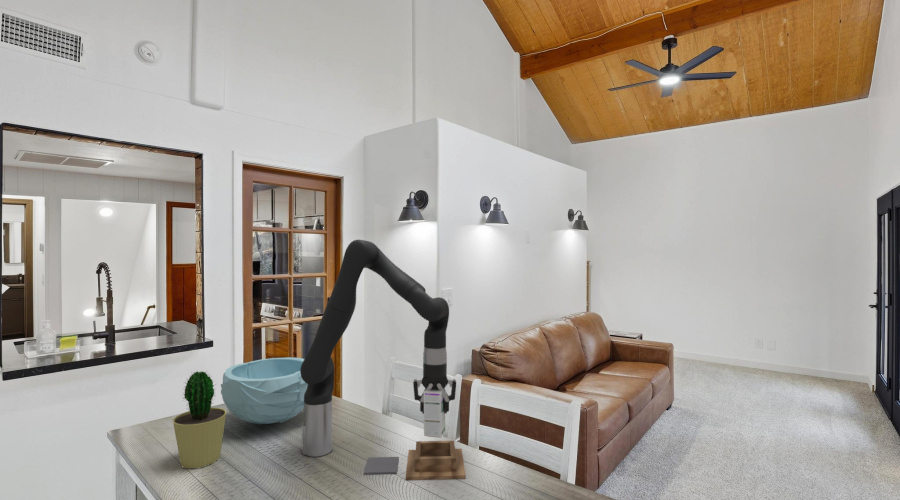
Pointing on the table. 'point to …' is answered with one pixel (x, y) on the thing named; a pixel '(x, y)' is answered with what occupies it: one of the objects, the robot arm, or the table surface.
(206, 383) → the potted cactus
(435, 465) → the collar stand
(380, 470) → the felt pad
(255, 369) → the bowl
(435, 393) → the syrup box
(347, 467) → the table surface
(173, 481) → the table surface
